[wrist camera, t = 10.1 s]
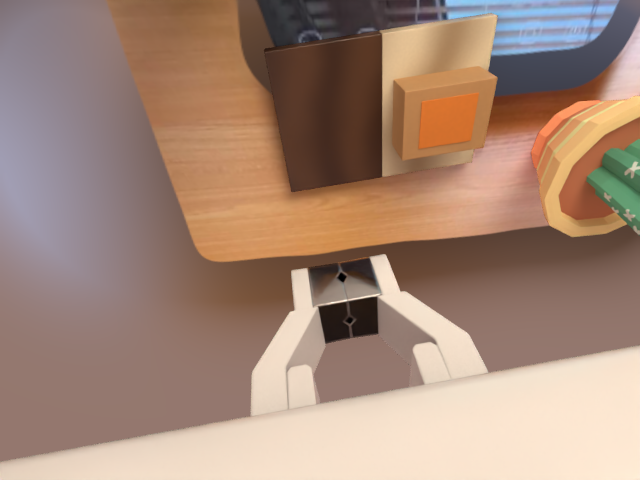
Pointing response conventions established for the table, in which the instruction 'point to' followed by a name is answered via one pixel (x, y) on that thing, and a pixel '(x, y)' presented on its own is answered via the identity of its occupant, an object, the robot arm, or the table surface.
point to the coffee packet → (441, 112)
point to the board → (363, 97)
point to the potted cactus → (591, 167)
